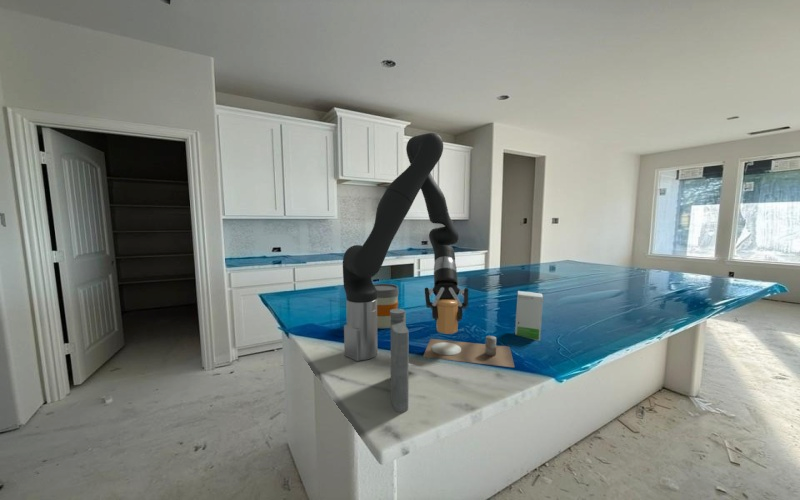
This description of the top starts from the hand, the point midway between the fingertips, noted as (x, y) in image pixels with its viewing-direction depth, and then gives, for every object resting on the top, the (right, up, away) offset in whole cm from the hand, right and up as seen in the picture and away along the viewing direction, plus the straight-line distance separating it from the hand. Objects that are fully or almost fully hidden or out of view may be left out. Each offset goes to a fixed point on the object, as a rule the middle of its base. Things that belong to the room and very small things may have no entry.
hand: (447, 319), depth 90 cm
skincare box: (+31, -10, +17) cm, 36 cm away
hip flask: (-15, -13, -18) cm, 27 cm away
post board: (+6, -11, +1) cm, 13 cm away
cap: (0, -4, +2) cm, 4 cm away
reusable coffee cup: (-21, -9, +29) cm, 37 cm away
